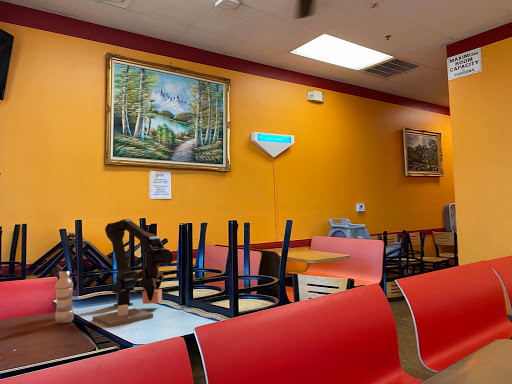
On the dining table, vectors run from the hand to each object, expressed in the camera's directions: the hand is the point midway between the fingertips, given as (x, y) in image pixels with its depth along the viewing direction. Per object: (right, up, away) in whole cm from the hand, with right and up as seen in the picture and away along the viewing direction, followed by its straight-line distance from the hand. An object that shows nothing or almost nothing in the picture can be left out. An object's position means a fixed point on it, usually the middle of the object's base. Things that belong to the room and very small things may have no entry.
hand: (152, 299), depth 173 cm
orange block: (0, -1, 0) cm, 1 cm away
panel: (-7, -3, -17) cm, 19 cm away
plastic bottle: (-29, -4, -20) cm, 36 cm away
